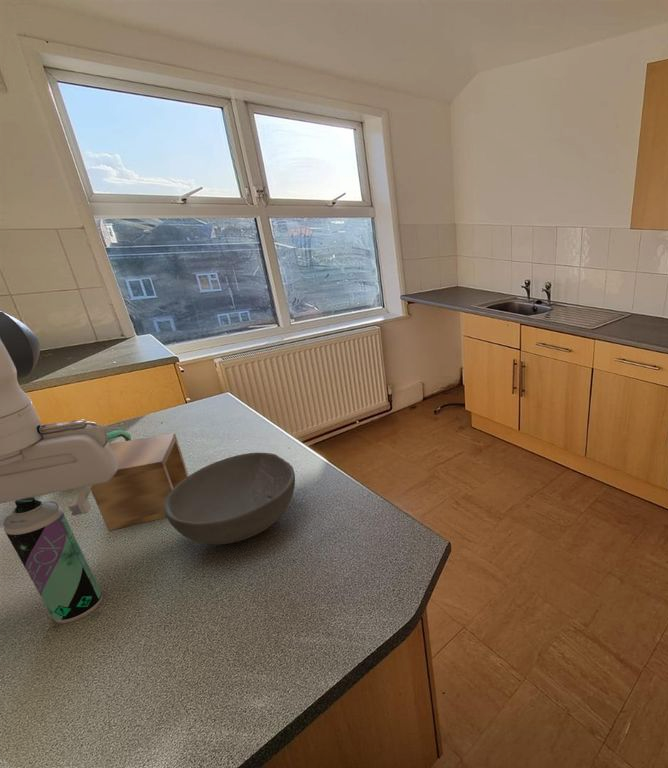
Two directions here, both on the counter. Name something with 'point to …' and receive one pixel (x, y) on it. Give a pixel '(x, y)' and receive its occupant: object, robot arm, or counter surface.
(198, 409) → the counter surface
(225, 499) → the bowl
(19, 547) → the spray can
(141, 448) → the wooden box
